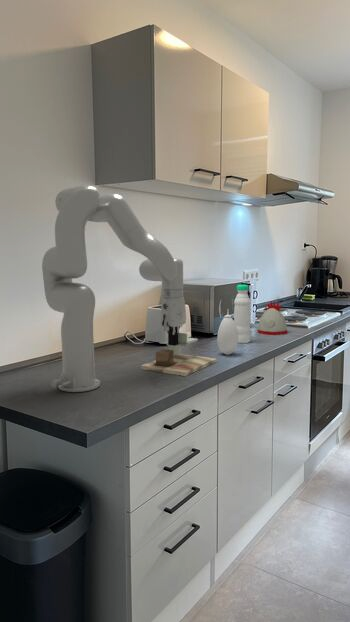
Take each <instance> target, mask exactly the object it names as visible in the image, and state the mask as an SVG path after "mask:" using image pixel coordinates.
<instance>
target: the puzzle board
mask: <svg viewBox="0 0 350 622" xmlns="http://www.w3.org/2000/svg"><path fill="white" fill-rule="evenodd" d="M217 362H218V359H217V358H214V357H207V356H199V355H192V354H191V355H190V354H183V353H179V354H176V355H174V365H172V366H170V367H162V366H156V359H155V360H153V361H150V362H147V363H145V364H142V365H140V369H141V370H144V371H152V372H157V373H163V374H169V375H174V374H175V376H180V375H181V377H187V376H189V375H192V374H193V372H194V373H196V372H198V371H201V370H202V369H204V368H206V367H209V366H211V365H212V364H215V363H217ZM195 371H196V372H195Z"/></svg>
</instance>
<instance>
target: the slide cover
mask: <svg viewBox="0 0 350 622" xmlns="http://www.w3.org/2000/svg"><path fill="white" fill-rule="evenodd" d="M198 340H199V338H196V337H195V338H193V337H188V333H187V332H186V333H185V332H179V334H178V345H176V346H173V345H169V344H168V343H167V350H174V355H176V354H182V347H188V345H190V344H193V343H196V342H199V341H198Z"/></svg>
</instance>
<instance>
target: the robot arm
mask: <svg viewBox="0 0 350 622" xmlns="http://www.w3.org/2000/svg"><path fill="white" fill-rule="evenodd" d="M54 200H55V201H54V203H55V207H56V209H57V211H58V213H57V215H56V218H55V224H54V240H55V241H54V242H55V246H52V247H50V248H49V249H48V250H46V252H45V253H44V255H43V258H42V263H41V268H42V270H41V271H42V279H43V288H44V295H45V300H46V303H47V305H48V307H49V308H50V309H52V310H53V311H54V312H55V311H56V312H58V313H63V316H62V320H61V323H60V324H61V326H60V337H61V355H62V356H61V358H62V359H61V360H62V361H61V362H62V373H60V376H59V378H58V379H54V380H52V381H51V382H50V384H51V387H52V388H57V387H58V389H59V390H61V391H64V392H69V393H79V392H82V393H83V392H88V391H92V390H96V389H98V388H99V387H100V385H101V380H100V379H98V378H97V377H96V374H95V372H96V371H95V347H94V345H95V343H94V339H95V338H94V315H95V314H94V313H95V310H96V295H95V293H94V292H93V290H92V289H91V288H90V287H89V286H87V285H86V284H83V283H79V282H73V279H79V278H82V277H83V276H85V274H86V273H87V269H88V257H87V248H86V246H87V245H86V236H85V234H86V233H85V232H86V231H85V230H86V225H87V222H94V223H107V224H108V225H109V227H110V228H111V230H112V231H113V232H114V234H115V235H116V236H117V238H118V239H119V241H120V242H121V244H122V245H123V246H124V247H126V248H128V249H129V250H131V251H134V252H136V253H138V254H140V255H141V256H144V257H145V258H146V259H145V260H143V261H142V262H141V263H140V265H139V268H138V272H139V275H140V276H141V277H142V279H144V280H146V281H151V282H161V298H162V299H161V307H160V323H161V326H162V327H163V329H162V331H166V332H167V333H166V334H167V345H168V344H169V345H173V346H176V345H178V334H179V333H180V328H182V327H183V325H186V323H187V312H186V301H185V297H184V261H183V260H182V259H180V258H174V257H173V255H172V254H171V252H170V251H169V249H168V247H166V246H165V245H164V243H162V242H161V241H160V240H158V239H157V238H156V237H155V236H154V235H152V234H150V233H149V232H148V231H147V230H146V229H145V228H144V227H143V225H142V224H141V222H140V220H139V219H138V217H137V216H136V214H135V212H134V211H133V210H132V208H131V207H130V205H129V203H128V202H127V200H126V199H125V198H124V196H122V195H120V194H118V193H109V194H108V193H107V194H100V192H99V190H98V189H97V188H96V187H94V186H92V185H88V184H87V185H80V186H73V187H68V188H63V189H62V190H60V191H59V192H58V193H57V195H56V197H55V199H54Z"/></svg>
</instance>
